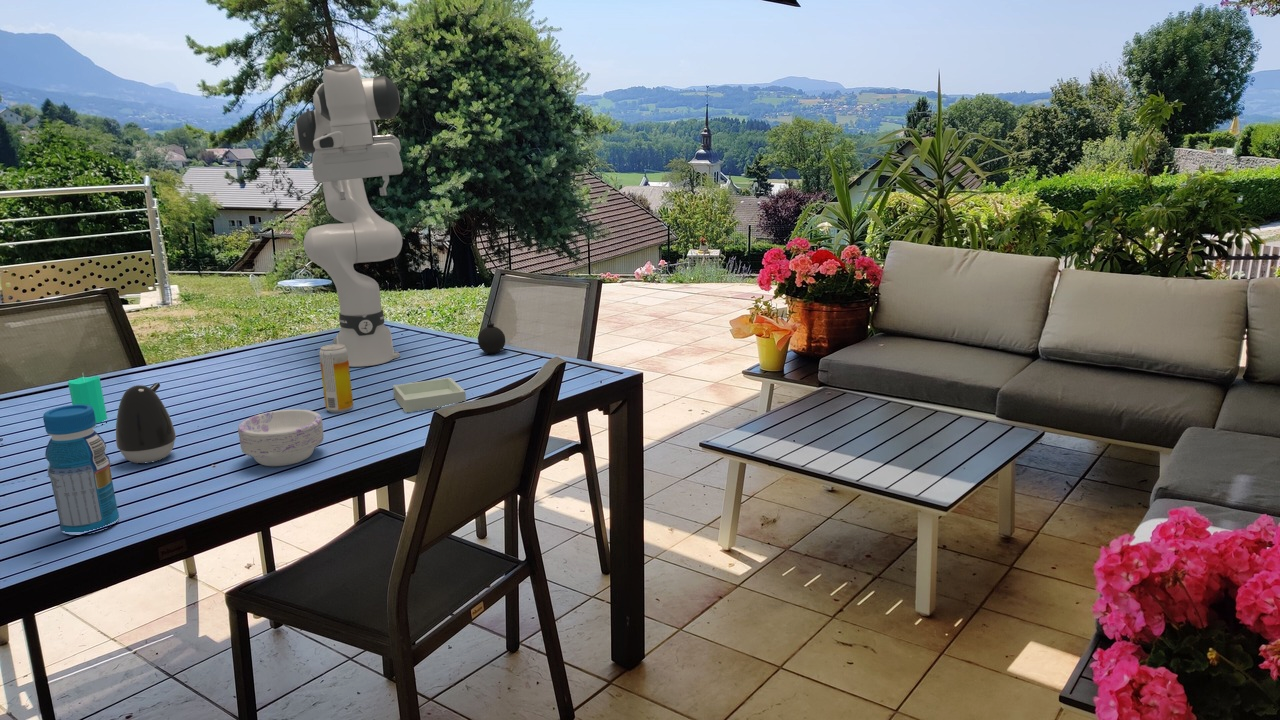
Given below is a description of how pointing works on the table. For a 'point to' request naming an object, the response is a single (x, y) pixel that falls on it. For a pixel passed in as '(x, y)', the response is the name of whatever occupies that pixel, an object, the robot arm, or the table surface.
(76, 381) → the candle
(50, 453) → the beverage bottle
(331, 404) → the beer can
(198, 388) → the table surface
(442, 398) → the tray
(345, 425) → the table surface
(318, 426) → the paper bowls
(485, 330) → the bomb
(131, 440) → the pump dispenser
